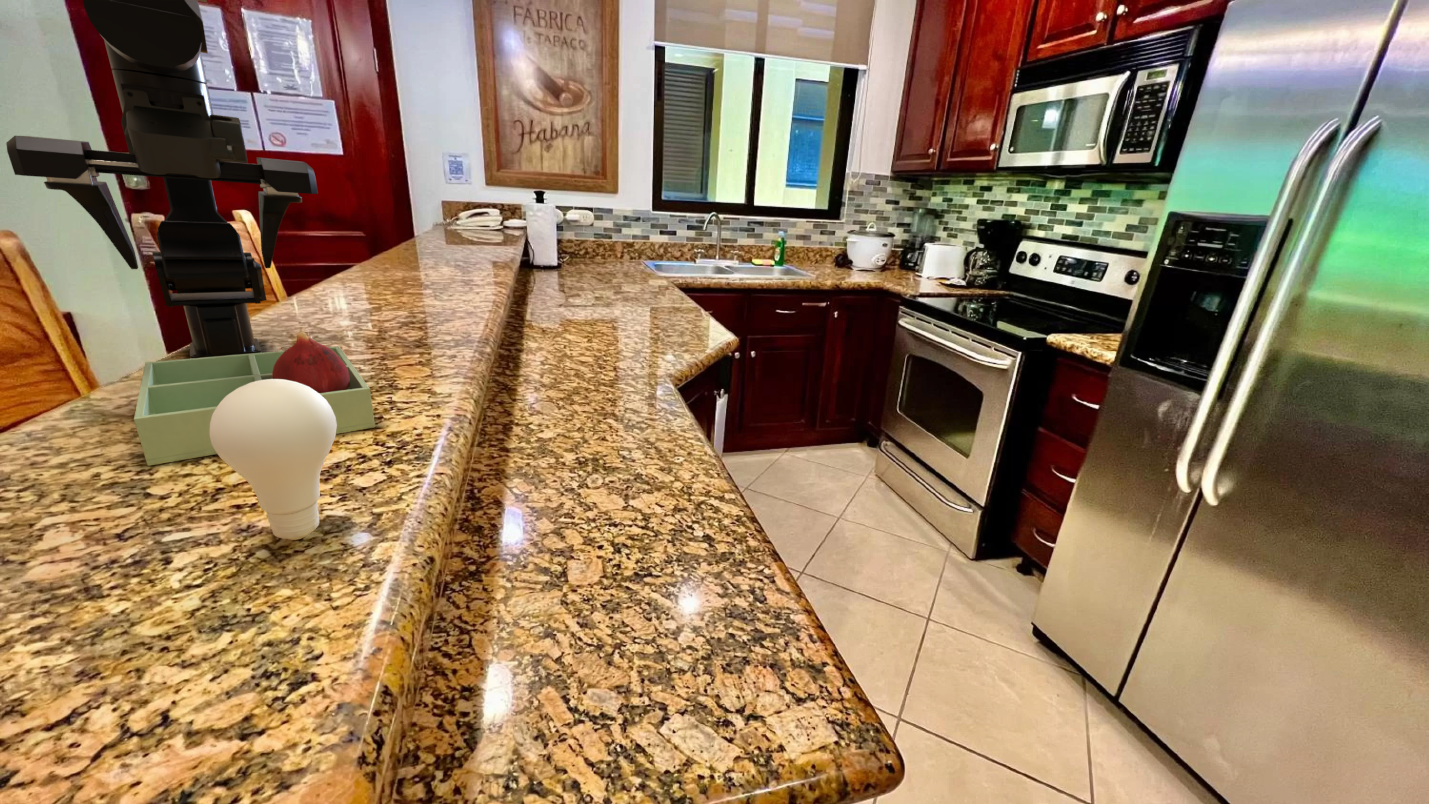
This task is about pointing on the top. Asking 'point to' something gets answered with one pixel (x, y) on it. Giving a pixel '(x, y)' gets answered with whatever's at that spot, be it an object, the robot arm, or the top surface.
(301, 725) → the top surface
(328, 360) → the onion
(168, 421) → the divided tray
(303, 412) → the lightbulb
